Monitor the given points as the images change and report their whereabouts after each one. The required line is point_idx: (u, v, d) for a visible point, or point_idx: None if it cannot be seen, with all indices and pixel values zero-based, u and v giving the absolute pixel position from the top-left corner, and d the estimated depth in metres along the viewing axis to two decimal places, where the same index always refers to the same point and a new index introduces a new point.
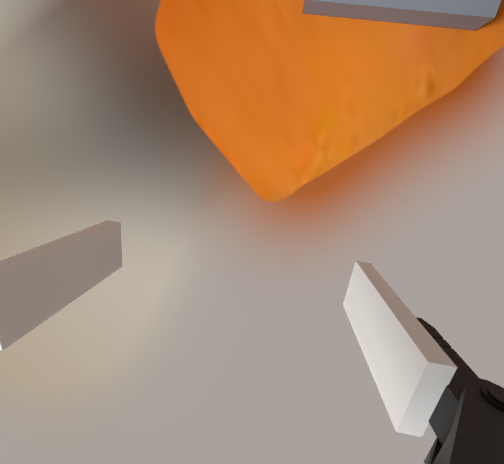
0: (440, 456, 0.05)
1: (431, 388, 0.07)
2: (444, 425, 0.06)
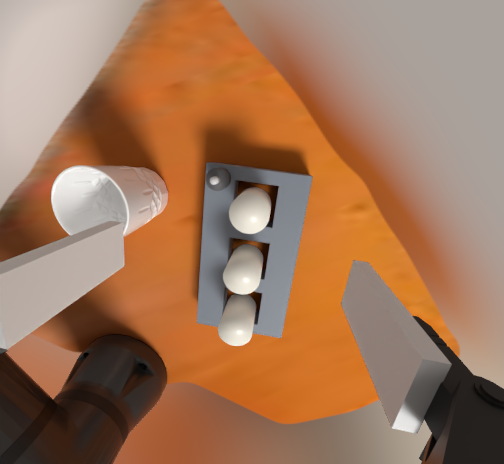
0: (434, 452, 0.05)
1: (426, 385, 0.07)
2: (439, 422, 0.07)
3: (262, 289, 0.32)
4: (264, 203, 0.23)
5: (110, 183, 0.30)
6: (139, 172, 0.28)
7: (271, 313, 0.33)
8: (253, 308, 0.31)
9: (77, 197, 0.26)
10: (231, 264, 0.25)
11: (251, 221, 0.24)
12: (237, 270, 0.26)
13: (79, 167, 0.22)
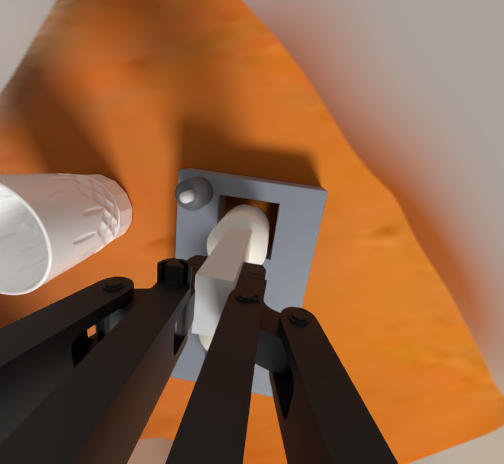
0: None
1: (222, 299, 0.09)
2: None
3: None
4: (259, 233, 0.15)
5: None
6: (84, 182, 0.20)
7: None
8: None
9: None
10: None
11: None
12: None
13: None
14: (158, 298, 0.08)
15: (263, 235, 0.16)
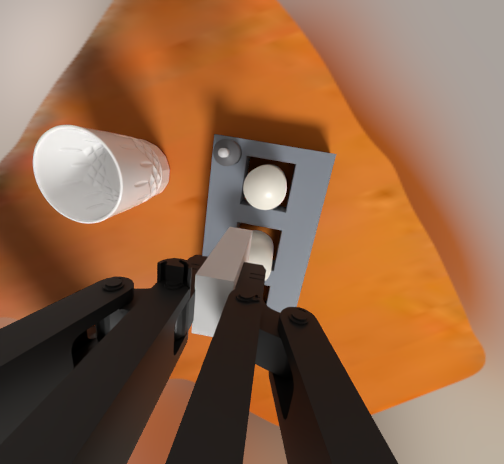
0: None
1: (222, 299, 0.09)
2: None
3: (270, 282, 0.28)
4: (281, 177, 0.22)
5: (105, 155, 0.26)
6: (137, 142, 0.24)
7: (279, 309, 0.29)
8: None
9: (65, 166, 0.23)
10: None
11: (266, 196, 0.23)
12: None
13: (65, 127, 0.19)
14: (158, 298, 0.08)
15: (284, 179, 0.22)
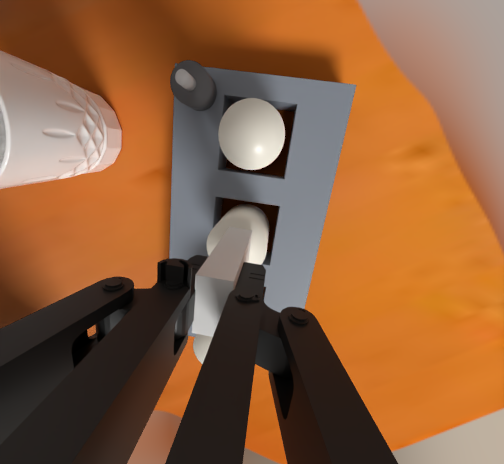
0: None
1: (222, 299, 0.09)
2: None
3: (266, 281, 0.20)
4: (276, 115, 0.14)
5: None
6: (61, 79, 0.16)
7: None
8: None
9: None
10: (220, 225, 0.16)
11: (254, 147, 0.15)
12: None
13: None
14: (158, 298, 0.08)
15: (281, 118, 0.14)
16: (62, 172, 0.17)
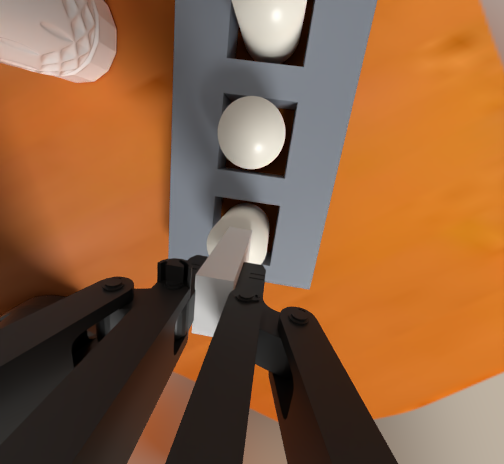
0: None
1: (222, 299, 0.09)
2: None
3: (280, 198, 0.18)
4: None
5: None
6: None
7: (294, 244, 0.19)
8: (266, 221, 0.19)
9: None
10: (233, 105, 0.14)
11: (272, 0, 0.12)
12: (244, 118, 0.14)
13: None
14: (158, 298, 0.08)
15: None
16: (45, 48, 0.14)
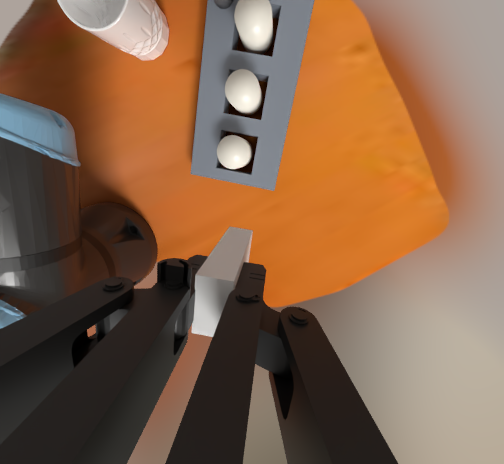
0: None
1: (222, 299, 0.09)
2: None
3: (258, 131, 0.32)
4: (267, 2, 0.25)
5: (111, 5, 0.29)
6: None
7: (265, 161, 0.33)
8: (250, 146, 0.33)
9: None
10: (233, 73, 0.28)
11: (254, 22, 0.26)
12: (238, 80, 0.28)
13: None
14: (158, 298, 0.08)
15: (270, 5, 0.25)
16: (139, 39, 0.28)
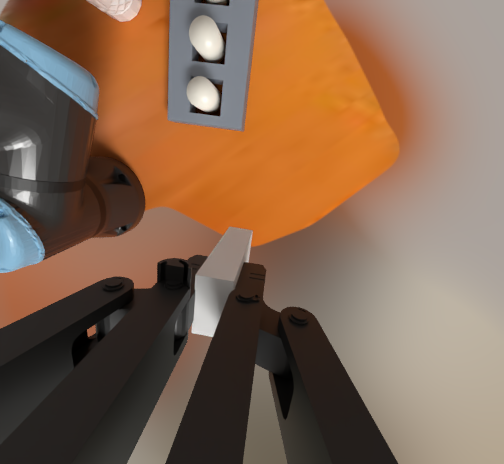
0: None
1: (222, 299, 0.09)
2: None
3: (223, 75, 0.36)
4: None
5: None
6: None
7: (231, 102, 0.37)
8: (218, 91, 0.38)
9: None
10: (195, 20, 0.32)
11: None
12: (200, 26, 0.32)
13: None
14: (158, 298, 0.08)
15: None
16: None
